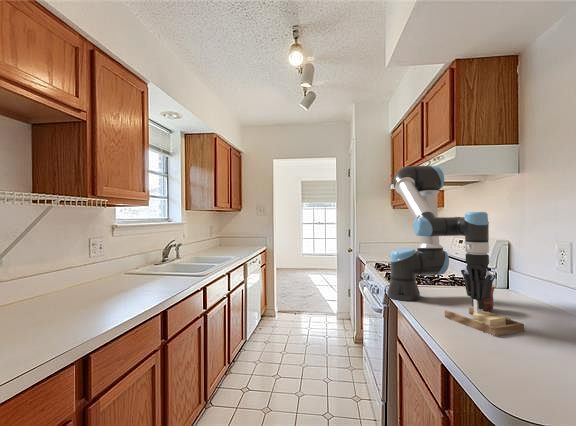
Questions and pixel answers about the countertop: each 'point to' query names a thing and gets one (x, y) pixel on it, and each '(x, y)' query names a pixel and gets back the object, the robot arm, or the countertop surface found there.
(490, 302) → the mug
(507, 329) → the beam slot
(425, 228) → the robot arm
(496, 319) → the block
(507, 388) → the countertop surface
